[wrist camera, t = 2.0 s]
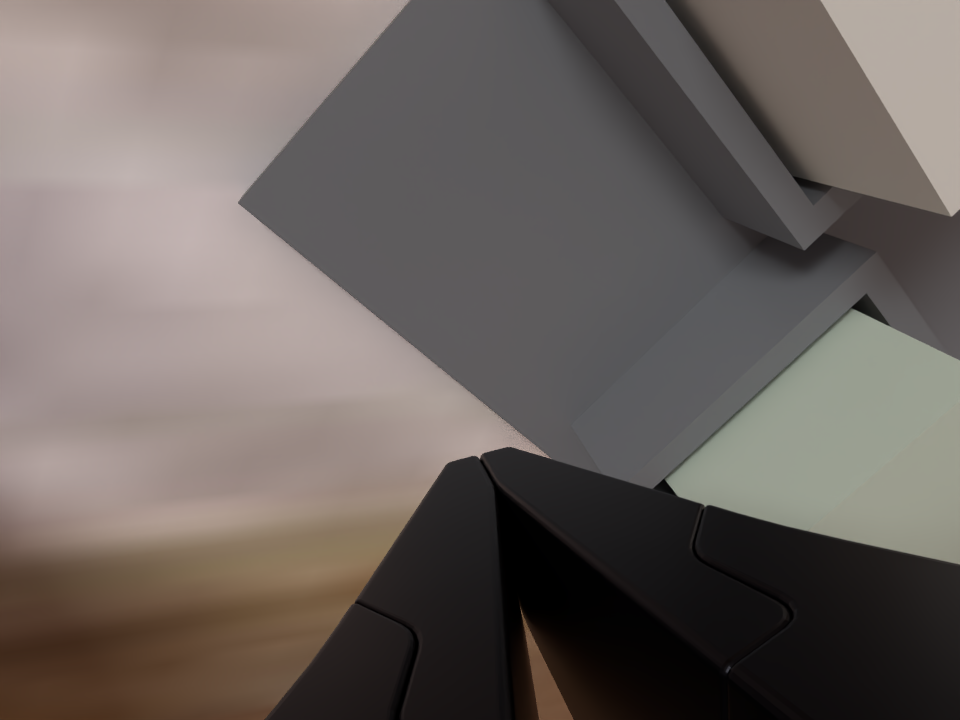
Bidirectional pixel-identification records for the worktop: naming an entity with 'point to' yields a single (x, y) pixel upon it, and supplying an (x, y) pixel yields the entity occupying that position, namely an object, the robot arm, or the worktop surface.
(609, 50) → the board
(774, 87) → the cream block with holes
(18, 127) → the worktop surface
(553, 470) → the robot arm
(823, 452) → the grey-green block
